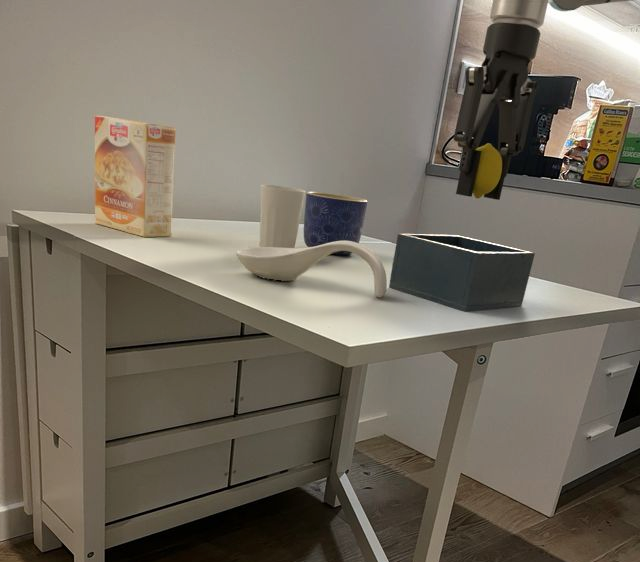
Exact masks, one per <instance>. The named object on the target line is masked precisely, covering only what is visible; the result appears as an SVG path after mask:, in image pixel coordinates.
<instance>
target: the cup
mask: <svg viewBox="0 0 640 562" xmlns="http://www.w3.org/2000/svg"><path fill="white" fill-rule="evenodd" d="M305 197H306V190H304V189H301V188H295V187H288V186H283V185H274V184H261V185H260V217H259V218H260V221H259V223H260V224H259V247H277V248H296V243H297V237H298V232H299V227H300V220H301V216H302V212H303V211H302V210H303V205H304V202H305V201H304V200H305Z"/></svg>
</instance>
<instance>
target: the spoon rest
mask: <svg viewBox="0 0 640 562" xmlns="http://www.w3.org/2000/svg"><path fill="white" fill-rule="evenodd" d="M338 251H350V252H353V253H352V254H355V255H357V256H359V257H360V258H361V259H363V260H364V261H365V262H366V263H367V264H368V265H369V267H370V270H371V271H372V275H373V282H374V285H373V286H374V288H373V289H374V291H373V294H374V296H375V298H381V297H383V295H385V294H386V292H387V285H388V284H387V280H388V279H387V273H386V269H385V267H384V265H383V262H382V260H381V259H380V258H379V256H378V255H377V254H376V252H375V253H374V251H372V250H371V249H370V248H368V247H367V246H365V245H363V244H362V243H360V242H359V243H356V242H352V241H335V242H330V243H326V244H322V245H319V246H314V247H295V248H277V247H260V246H253V247H244V248H241V249H238V250H237V251H236V252H235V254H236V256H237V259H238V261H239V262H240V264H242V266H243V267H244V268H245V269H247V270H248V271H249V272H251V273H252V274H254V275H255V276H257V275H258V276H261V277H264V278H263V279H265V278H268V279H267V280H269V279H274V280H273V281H276V280H281V281H280V282H291V281H294V280H296V279H297V278H298V277H300V276H302V275H303V274H304V273H306V272H307V271H308V270H310V269H311V268H312V267H313V266H315V265H316V264H317V263H318V262H320V261H321V260H323V259H324V258H326V257H328V256H329V255H332V254H331V253H334V252H338ZM258 276H257V277H258ZM261 277H260V278H261Z"/></svg>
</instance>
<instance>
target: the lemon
mask: <svg viewBox="0 0 640 562" xmlns="http://www.w3.org/2000/svg"><path fill="white" fill-rule="evenodd" d="M475 150H479V151H481V156H480V161H479V165H478V170H477V175H476V179H475V184H474V189H473V193H472V195H473V197H474V198H475V199H481V198H482V197H484V194H487V193H489V192H491V191H492V190H493V189H494V188H495V187H496V186H497V184H498V182H499V180H500V177H501V172H502V158H501V155H500V153H499V152H498V149H496V148H495V146H493V145H492V143H489V142H488V143H486V144H484V145H481V146H478V148H477V149H475Z"/></svg>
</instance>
